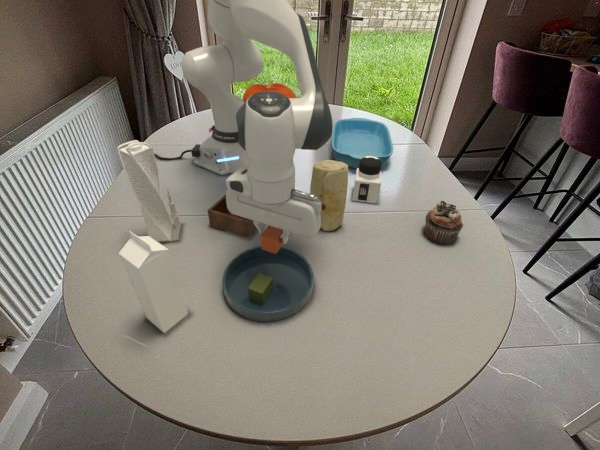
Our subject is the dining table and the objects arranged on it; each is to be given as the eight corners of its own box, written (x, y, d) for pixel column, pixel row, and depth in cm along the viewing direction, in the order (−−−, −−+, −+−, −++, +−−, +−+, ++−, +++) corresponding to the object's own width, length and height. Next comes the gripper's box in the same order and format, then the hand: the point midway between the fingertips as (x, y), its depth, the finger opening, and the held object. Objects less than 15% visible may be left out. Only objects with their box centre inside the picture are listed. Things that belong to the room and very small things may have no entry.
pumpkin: (307, 126, 150) (308, 80, 138) (278, 144, 135) (277, 94, 123) (266, 116, 160) (264, 71, 147) (235, 131, 145) (229, 83, 132)
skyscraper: (177, 244, 87) (149, 145, 70) (145, 247, 86) (108, 147, 68) (181, 224, 94) (156, 129, 76) (151, 227, 92) (118, 131, 75)
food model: (341, 218, 97) (348, 156, 85) (344, 233, 92) (353, 169, 80) (308, 218, 97) (310, 156, 85) (309, 233, 92) (312, 169, 79)
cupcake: (457, 249, 88) (470, 219, 81) (419, 241, 90) (429, 211, 84) (457, 228, 95) (469, 199, 89) (422, 220, 97) (431, 192, 91)
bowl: (206, 302, 73) (203, 292, 70) (253, 246, 87) (252, 236, 85) (289, 337, 66) (289, 327, 64) (325, 270, 81) (326, 260, 79)
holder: (210, 226, 93) (207, 210, 90) (234, 203, 102) (232, 187, 99) (248, 239, 89) (247, 222, 86) (271, 213, 98) (270, 198, 95)
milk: (171, 301, 73) (144, 221, 59) (189, 315, 70) (165, 234, 56) (146, 319, 69) (111, 238, 55) (164, 335, 66) (132, 254, 53)
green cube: (249, 300, 73) (247, 288, 70) (259, 284, 76) (258, 272, 74) (263, 305, 72) (262, 293, 69) (273, 290, 75) (272, 277, 73)
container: (376, 204, 104) (384, 167, 95) (352, 200, 105) (357, 164, 97) (377, 191, 110) (384, 155, 101) (353, 188, 111) (359, 152, 102)
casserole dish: (393, 177, 116) (397, 159, 112) (329, 173, 118) (330, 154, 114) (383, 134, 145) (386, 118, 141) (332, 131, 147) (334, 115, 142)
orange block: (261, 249, 72) (260, 235, 70) (272, 236, 76) (271, 222, 73) (275, 254, 71) (275, 240, 69) (285, 240, 74) (285, 226, 72)
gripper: (328, 189, 62) (323, 243, 71) (236, 164, 69) (241, 217, 77) (316, 206, 58) (312, 262, 67) (218, 179, 64) (226, 233, 73)
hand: (273, 238), depth 72 cm, fingers closed on orange block, 3 cm apart
